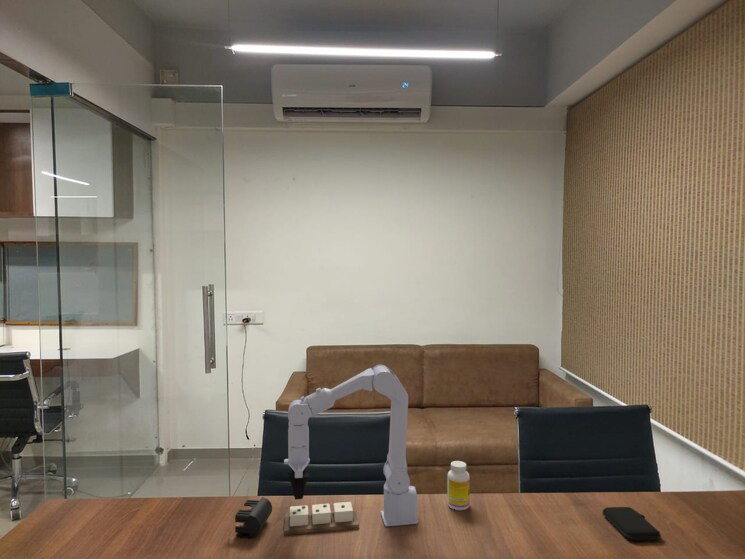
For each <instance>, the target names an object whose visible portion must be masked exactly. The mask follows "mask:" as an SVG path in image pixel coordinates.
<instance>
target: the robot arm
mask: <svg viewBox="0 0 745 559" xmlns="http://www.w3.org/2000/svg"><path fill="white" fill-rule="evenodd" d="M373 389H374V390H375V391H376V392H377V393H379V394H381V395H383V396H386V397H387V398H388V400H390V402H391V403H390V417H389V418H390V419H389V420H390V422H389V438H388V439H389V441H388V453H387V455H386V462H384V464H383V465H384V466H383V475H384V476H385V479H386V480H385V483H384V484H383V509H382V510H380V514H381V518H382V521H383V524H384V526H385V527H395V526H397V527H398V526H406V525H408V526H409V525H417V524H419V521H418V493H417V490H416V486H414V485H410V484H411V480H410V476H409V474H408V463H407V457H406V455H407V454H406V453H407V437H408V436H407V435H408V432H407V431H408V417H409V416H408V413H409V394H408V392H407V390H406V388H405V387H404V386H403V384H402V382H401V381H400V379H399V378H398V377H397V375H396V374H395V373H394V371H393V370H391V369H390V368H389V367H388V366H386V365H384V364H377V365H375V366H374V367H369V368H367V369H365V370H364V371H362V372H360V373H358V374H357V375H355V376H352V377H350V378H349V379H346V380H345V381H343V382H342V383H339V384H338V385H336V386H335V387H332V388H327V387H322V388H321V387H318V388H316V389H315V392H312V393H311V394H308V395H306V396H304V395H302V396H301V397H300V399H294V400H293V401H292V402H290V404H289V406H288V411H287V420H288V428H287V433H288V434H287V441H288V442H287V443H288V444H287V446H288V447H287V448H288V449H287V450H288V452H287V453H288V458H285V459H283V464H284V465H288V466H289V467H290V468H291V469H290V470H291V471H292V472H289V473H287V474H288V475H287V478H288V481H289V482H290V484H291V488H292V492H293V493H292V494H293V498H294V500H303V499H304V494H305V489H306V484H307V482H308V480H309V478H310V473H308V472H307V473H306V469H307V467H308V466H309V464H310V461H311V459H310V429H309V428H310V427H309V424H308V423H309V419H310V418H311V417H315V416H316V415H318V414H319V415H320V413H323V412H324V411H326V410H329V409H331V408H333V407H334V405H335V402H336V401H337V400H339V399H342V398H344V397H346V396H348V395H350V394H353V393H356V392H357V391H360V390H364V391H368V392H373Z"/></svg>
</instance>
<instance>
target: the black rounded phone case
mask: <svg viewBox="0 0 745 559" xmlns="http://www.w3.org/2000/svg"><path fill="white" fill-rule="evenodd" d="M602 516H604V518H605V519H606V518H607V519H608V520H609V521H608V520H607V519H606V520H607V521H608V522H609V523H610V524H611V525H612V526H613V527H614V528H615V529H616V531H618V532H619V533H620V534H621V535H622V537H623V538H625V539H626V540H627V541H629V542H631V541H632V543H646V542H647V543H648V542H650V543H651V542H657V541H659V540H660V539H661V537H662V534H661V532H660V531H659V530H658V529H657V528H656V527H654V526H653V525H652V524H651V523H650V522H649V521H648V520H646V517H645V515H643V514H642V513H639V512H638V511H636V510H635V509H634V508H632V507H630V506H608V507H605V508H604V509H603V510H602Z"/></svg>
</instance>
